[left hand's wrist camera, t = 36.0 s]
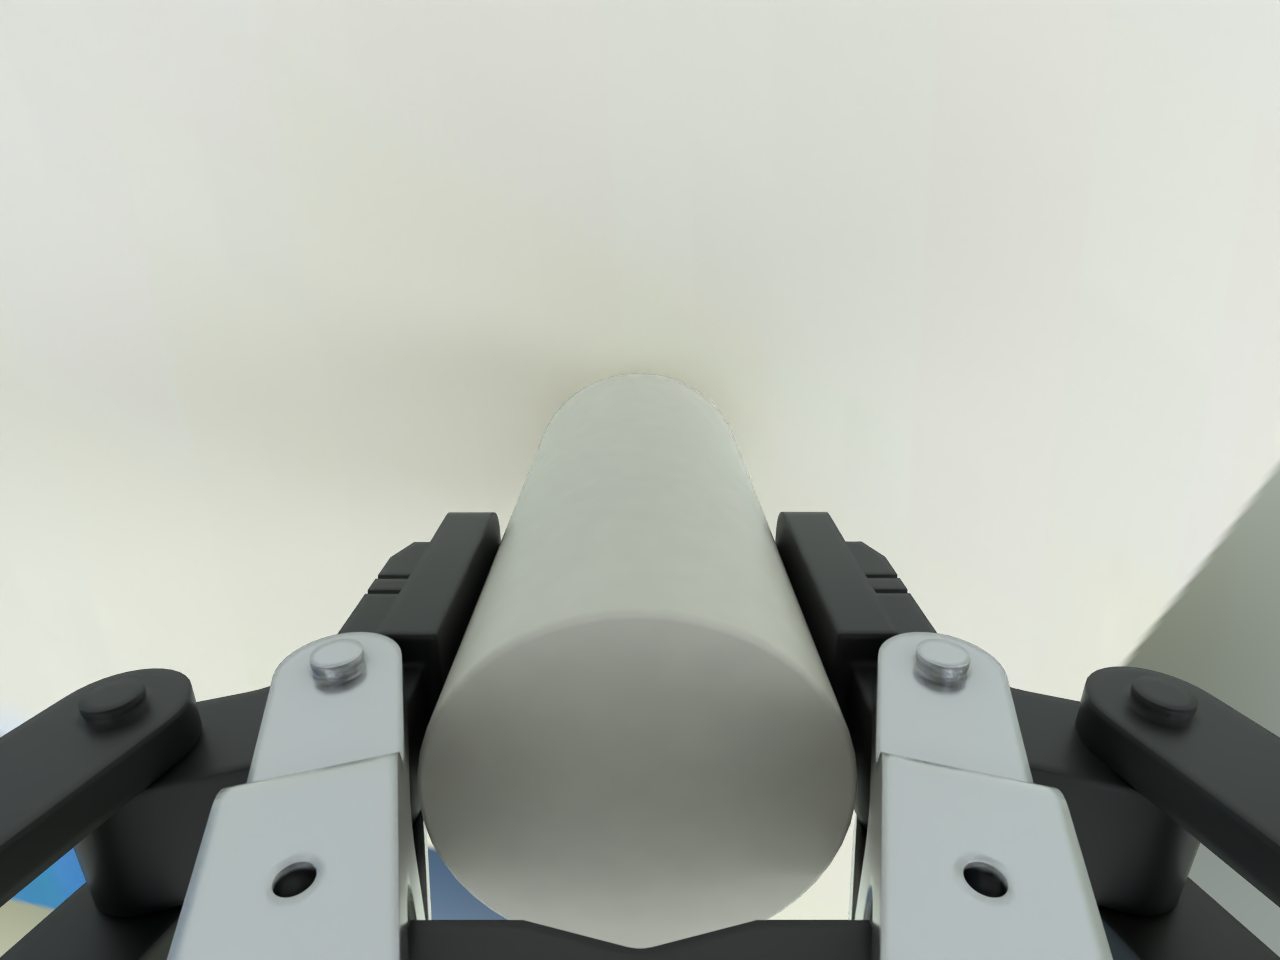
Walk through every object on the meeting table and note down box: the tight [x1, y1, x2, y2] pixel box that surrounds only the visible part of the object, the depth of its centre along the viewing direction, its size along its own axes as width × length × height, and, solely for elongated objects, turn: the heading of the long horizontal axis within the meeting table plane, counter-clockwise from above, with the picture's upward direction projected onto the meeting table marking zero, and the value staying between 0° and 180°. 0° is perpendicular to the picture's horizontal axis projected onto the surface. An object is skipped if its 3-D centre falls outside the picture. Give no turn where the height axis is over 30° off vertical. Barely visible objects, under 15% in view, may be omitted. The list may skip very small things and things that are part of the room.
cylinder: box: [417, 373, 857, 948], centre depth 12 cm, size 4×4×10 cm
